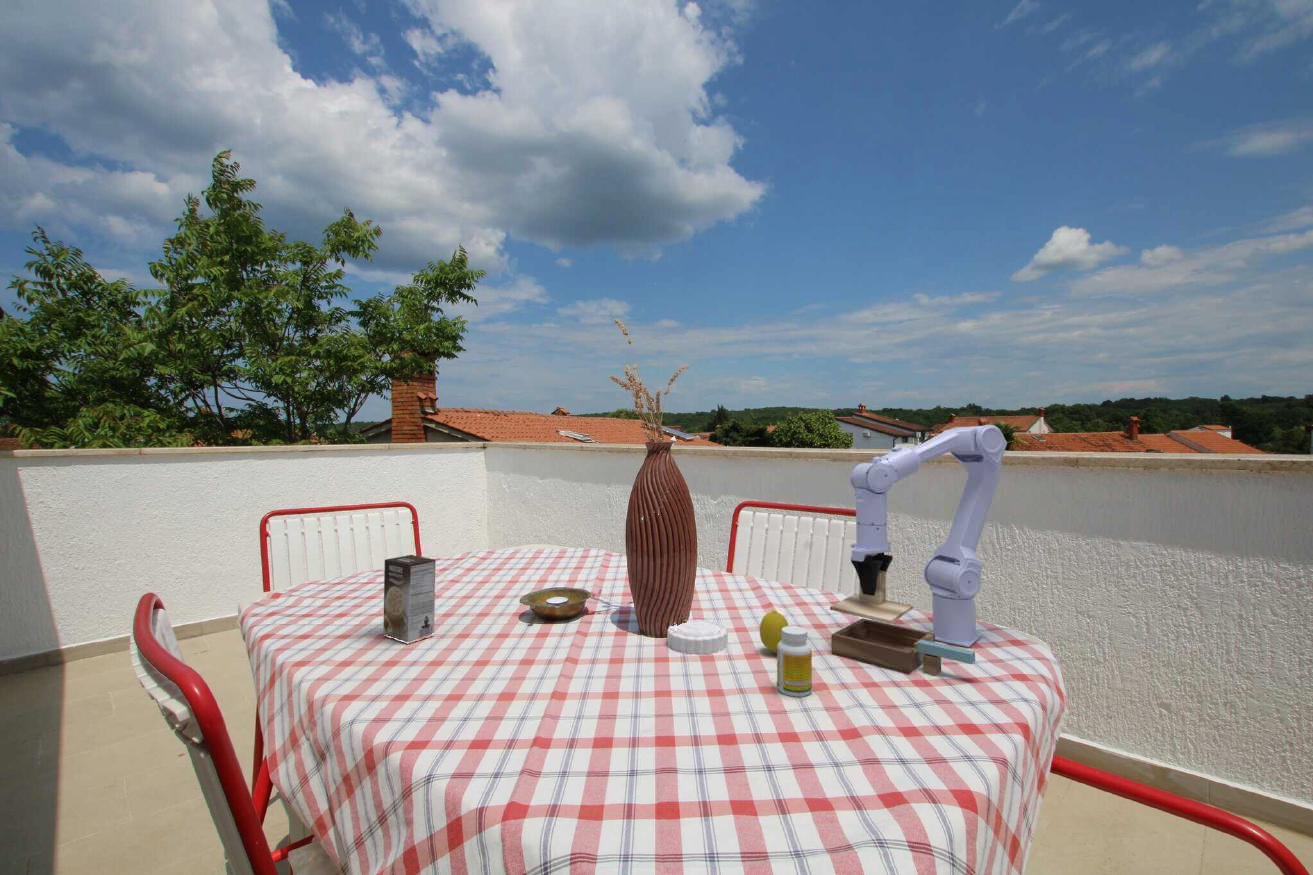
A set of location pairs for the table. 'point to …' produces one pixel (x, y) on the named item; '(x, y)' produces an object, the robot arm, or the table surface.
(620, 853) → the table surface
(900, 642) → the tray
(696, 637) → the mooncake
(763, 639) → the lemon
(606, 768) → the table surface
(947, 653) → the rectangular block
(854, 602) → the lid
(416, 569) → the coffee box
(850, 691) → the table surface
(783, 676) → the supplement bottle
